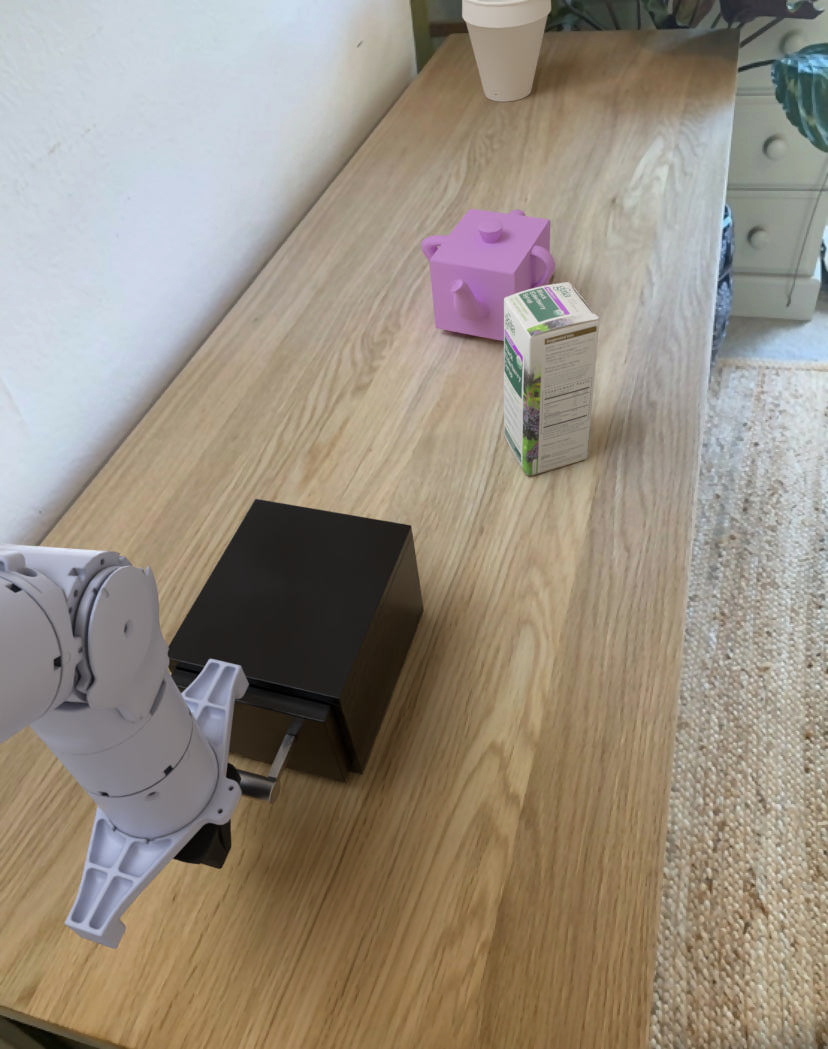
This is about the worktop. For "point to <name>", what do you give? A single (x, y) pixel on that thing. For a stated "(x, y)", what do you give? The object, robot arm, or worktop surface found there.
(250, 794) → the drawer
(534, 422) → the syrup box
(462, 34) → the worktop surface
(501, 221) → the teapot
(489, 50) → the cup
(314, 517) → the cabinet
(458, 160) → the worktop surface
